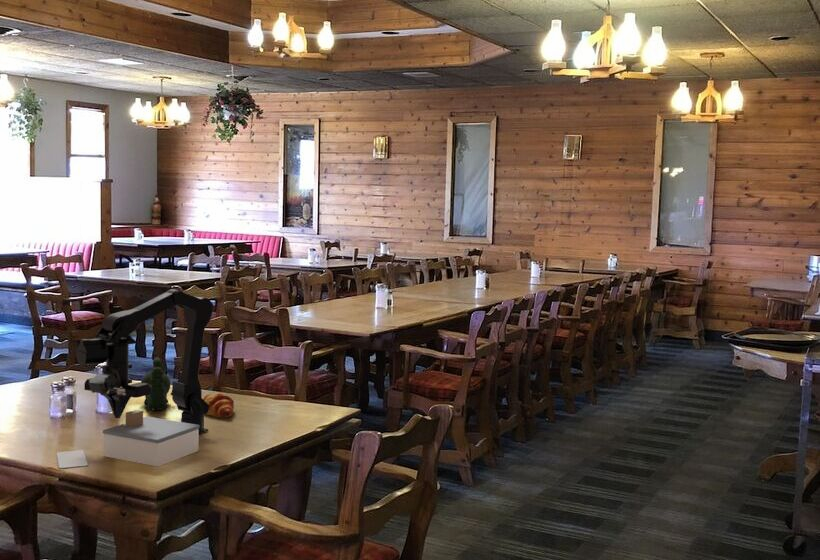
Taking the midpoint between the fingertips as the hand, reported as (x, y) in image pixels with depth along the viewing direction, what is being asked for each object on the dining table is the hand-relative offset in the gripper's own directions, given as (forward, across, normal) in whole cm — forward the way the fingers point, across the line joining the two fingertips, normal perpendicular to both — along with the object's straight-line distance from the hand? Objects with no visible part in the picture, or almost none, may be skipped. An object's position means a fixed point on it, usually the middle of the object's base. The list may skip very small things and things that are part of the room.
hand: (117, 418), depth 233 cm
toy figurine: (+8, -21, +40) cm, 46 cm away
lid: (+2, +12, 0) cm, 12 cm away
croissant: (+8, 0, +45) cm, 46 cm away
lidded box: (+8, +12, 0) cm, 14 cm away
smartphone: (+9, -2, -14) cm, 17 cm away
